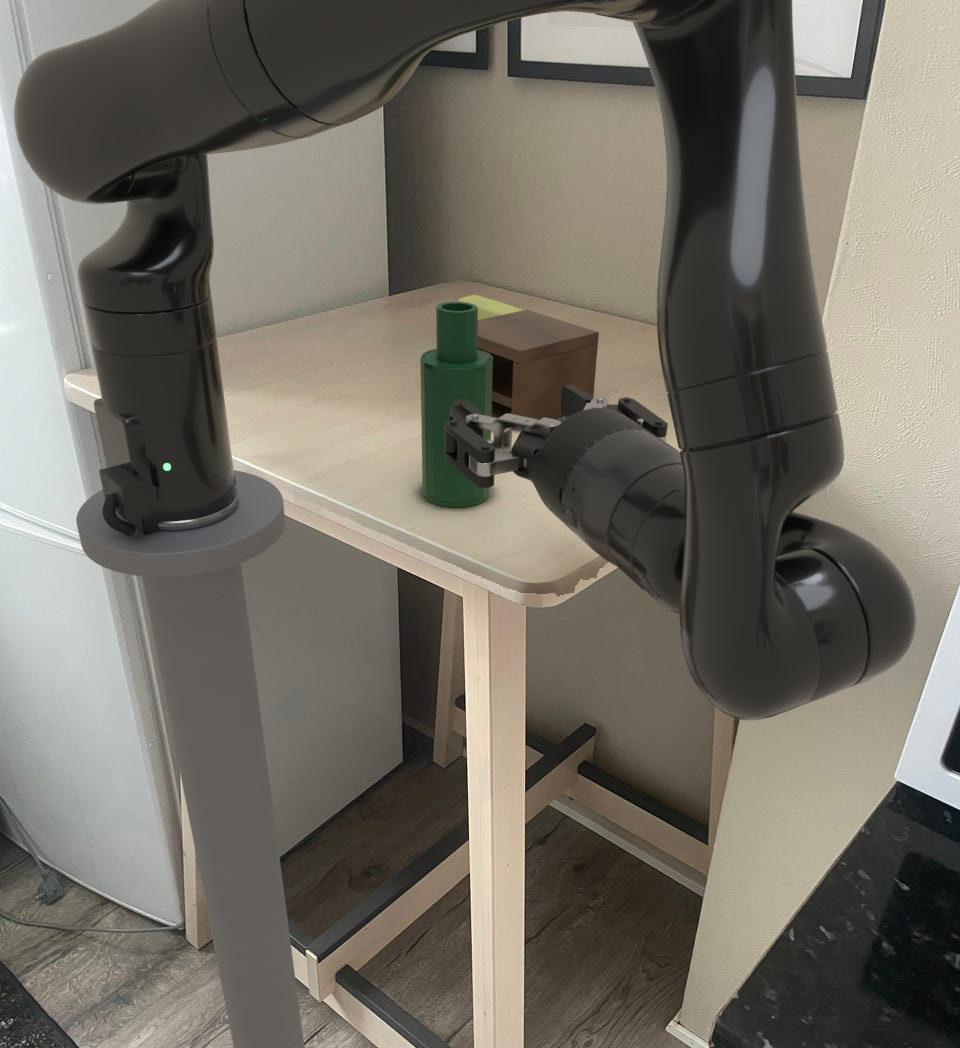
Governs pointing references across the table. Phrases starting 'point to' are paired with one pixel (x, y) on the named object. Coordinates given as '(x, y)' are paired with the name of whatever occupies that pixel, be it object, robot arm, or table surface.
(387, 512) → the table surface
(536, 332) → the shelf
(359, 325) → the table surface
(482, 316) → the yellow green block
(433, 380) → the bottle
